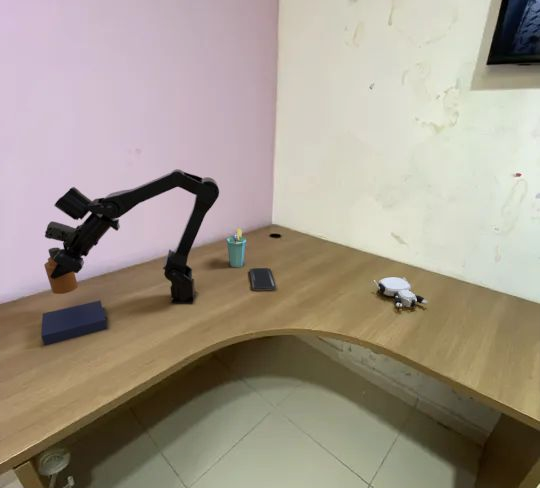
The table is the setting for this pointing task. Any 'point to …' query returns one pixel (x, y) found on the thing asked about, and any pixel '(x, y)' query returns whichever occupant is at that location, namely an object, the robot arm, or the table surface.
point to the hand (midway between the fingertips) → (54, 272)
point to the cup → (236, 249)
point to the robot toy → (399, 291)
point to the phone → (262, 279)
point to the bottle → (63, 282)
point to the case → (73, 322)
